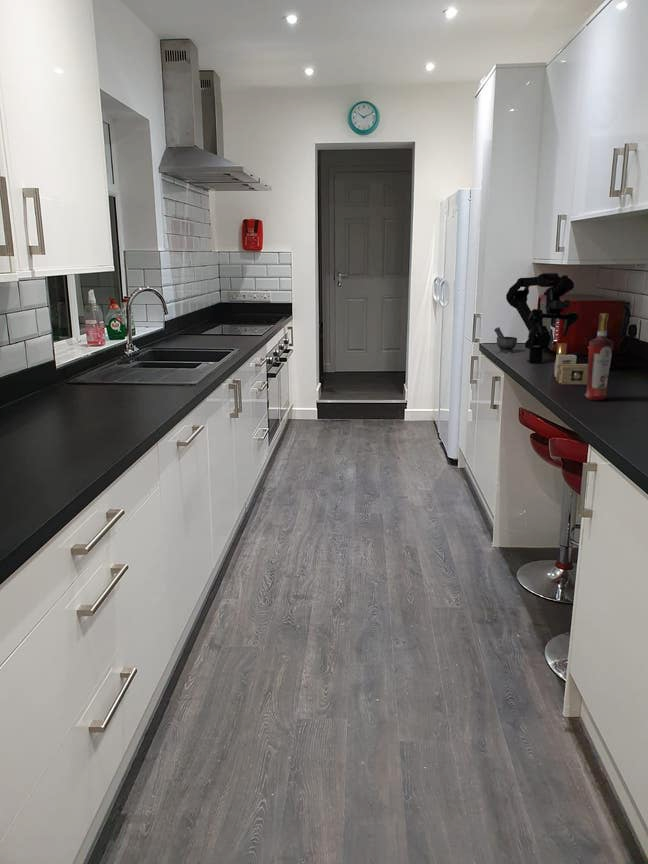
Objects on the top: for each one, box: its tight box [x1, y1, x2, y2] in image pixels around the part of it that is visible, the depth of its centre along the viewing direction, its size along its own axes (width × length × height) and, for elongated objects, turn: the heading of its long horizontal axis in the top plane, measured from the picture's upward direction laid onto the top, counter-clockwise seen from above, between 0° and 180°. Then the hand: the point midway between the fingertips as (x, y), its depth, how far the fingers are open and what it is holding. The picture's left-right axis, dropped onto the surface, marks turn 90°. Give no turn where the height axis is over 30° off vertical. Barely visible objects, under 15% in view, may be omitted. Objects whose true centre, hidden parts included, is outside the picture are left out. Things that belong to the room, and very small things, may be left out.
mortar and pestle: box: [494, 326, 518, 354], centre depth 322 cm, size 11×9×12 cm
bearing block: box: [555, 363, 588, 385], centre depth 248 cm, size 7×11×6 cm, turn 87°
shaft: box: [553, 342, 581, 379], centre depth 255 cm, size 23×6×12 cm, turn 177°
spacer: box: [554, 354, 578, 378], centre depth 259 cm, size 3×7×8 cm, turn 87°
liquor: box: [584, 312, 614, 402], centre depth 217 cm, size 7×7×28 cm
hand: (553, 335), depth 273 cm, fingers open, 9 cm apart
